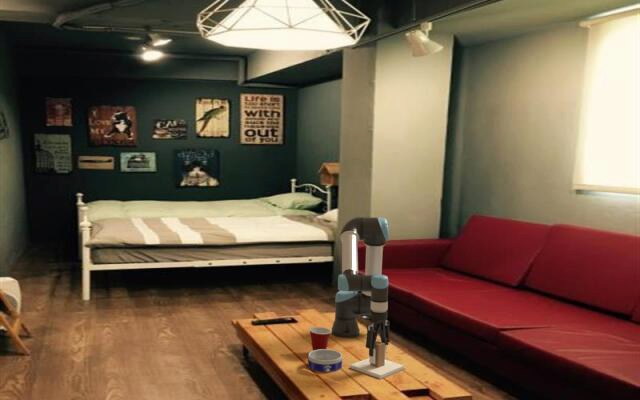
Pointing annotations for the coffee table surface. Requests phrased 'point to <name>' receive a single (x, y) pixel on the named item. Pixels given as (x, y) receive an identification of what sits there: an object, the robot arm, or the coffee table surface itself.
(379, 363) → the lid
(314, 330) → the plastic cup
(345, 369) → the coffee table surface
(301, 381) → the coffee table surface
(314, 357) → the dog bowl
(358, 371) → the mat
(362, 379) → the coffee table surface
